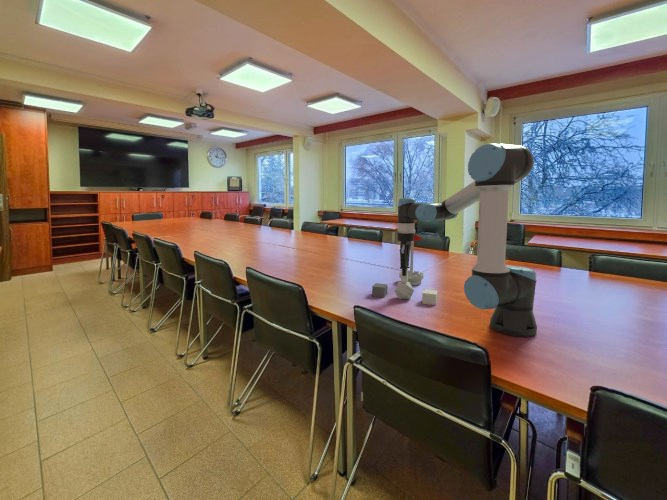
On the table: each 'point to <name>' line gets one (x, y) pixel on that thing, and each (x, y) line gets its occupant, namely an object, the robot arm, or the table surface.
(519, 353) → the table surface
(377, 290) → the charcoal block
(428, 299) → the off-white block
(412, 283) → the flag stand
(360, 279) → the table surface
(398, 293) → the die
